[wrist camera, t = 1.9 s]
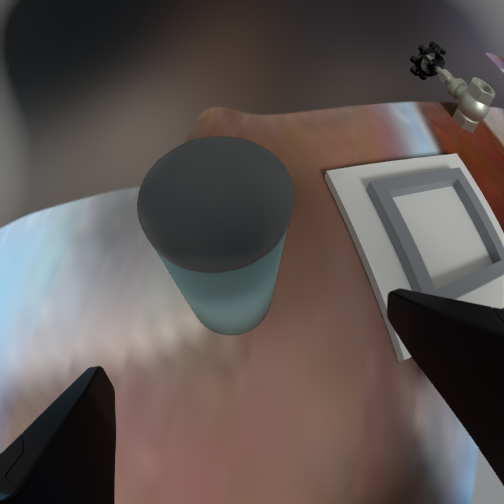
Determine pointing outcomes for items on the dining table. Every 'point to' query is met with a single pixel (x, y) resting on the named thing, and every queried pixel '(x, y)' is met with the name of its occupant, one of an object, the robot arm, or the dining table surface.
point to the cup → (219, 226)
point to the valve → (456, 87)
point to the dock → (422, 231)
